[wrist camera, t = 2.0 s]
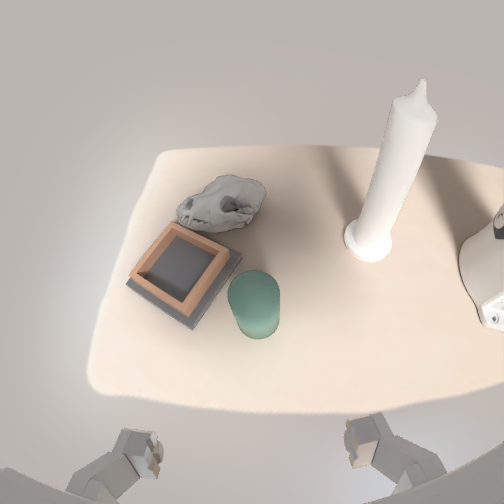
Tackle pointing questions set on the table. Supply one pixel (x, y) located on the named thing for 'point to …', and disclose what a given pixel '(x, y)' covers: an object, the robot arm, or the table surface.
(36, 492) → the robot arm
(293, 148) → the table surface
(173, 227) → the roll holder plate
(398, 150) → the candle
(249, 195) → the skull
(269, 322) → the green cylinder
